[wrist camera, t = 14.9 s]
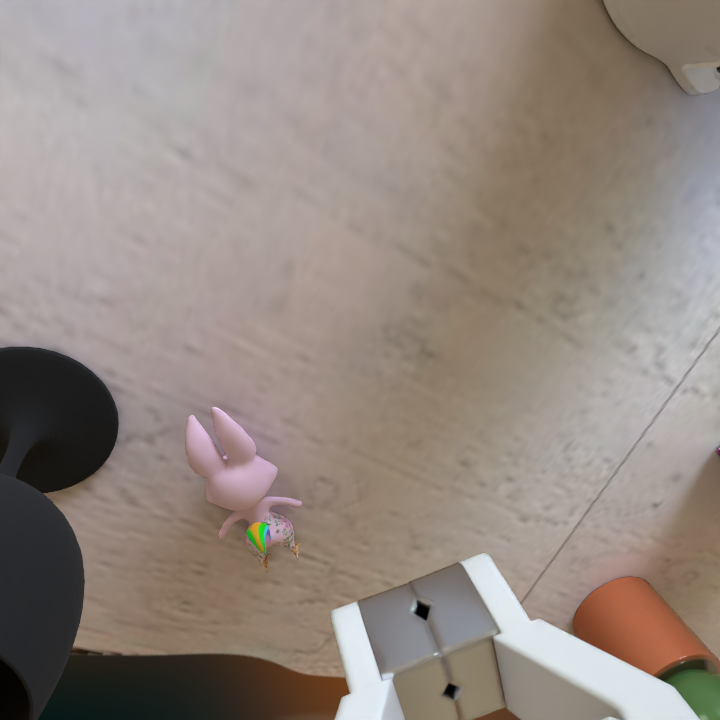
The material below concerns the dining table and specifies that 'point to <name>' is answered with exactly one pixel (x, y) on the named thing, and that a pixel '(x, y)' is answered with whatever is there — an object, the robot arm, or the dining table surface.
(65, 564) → the wine glass
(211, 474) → the rabbit figure
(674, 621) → the potted herb
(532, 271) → the dining table surface
